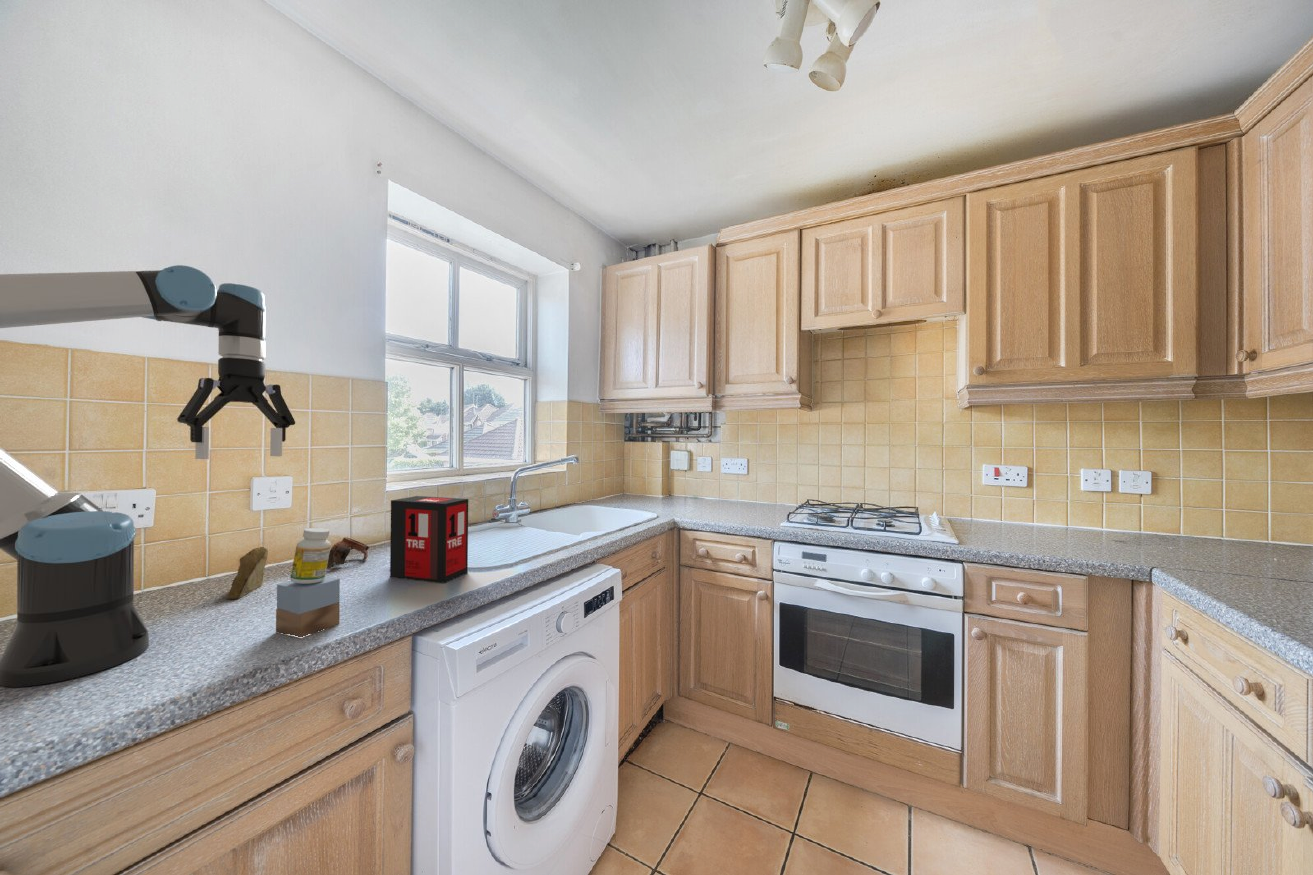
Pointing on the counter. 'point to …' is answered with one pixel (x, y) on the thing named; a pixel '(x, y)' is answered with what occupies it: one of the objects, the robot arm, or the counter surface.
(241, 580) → the rock
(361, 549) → the pottery mug
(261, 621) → the counter surface
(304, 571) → the supplement bottle
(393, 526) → the cleaning product box
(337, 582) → the slate-blue block
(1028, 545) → the counter surface
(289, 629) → the walnut block
